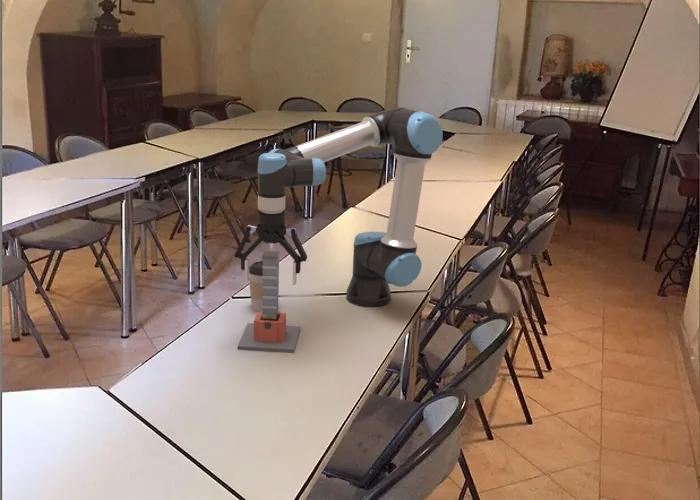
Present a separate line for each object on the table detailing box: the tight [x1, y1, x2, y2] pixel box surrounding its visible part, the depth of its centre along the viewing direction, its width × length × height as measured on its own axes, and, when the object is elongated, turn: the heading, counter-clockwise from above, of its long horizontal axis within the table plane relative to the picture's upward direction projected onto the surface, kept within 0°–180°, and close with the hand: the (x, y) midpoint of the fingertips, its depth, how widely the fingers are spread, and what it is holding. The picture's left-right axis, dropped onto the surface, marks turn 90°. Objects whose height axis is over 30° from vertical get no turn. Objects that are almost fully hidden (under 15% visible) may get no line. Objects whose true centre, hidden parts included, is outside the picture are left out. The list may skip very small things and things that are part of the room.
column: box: [261, 250, 281, 319], centre depth 204 cm, size 4×4×19 cm
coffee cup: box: [248, 260, 263, 312], centre depth 229 cm, size 9×9×15 cm
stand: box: [237, 311, 301, 354], centre depth 208 cm, size 16×16×7 cm
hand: (270, 282), depth 203 cm, fingers open, 13 cm apart
